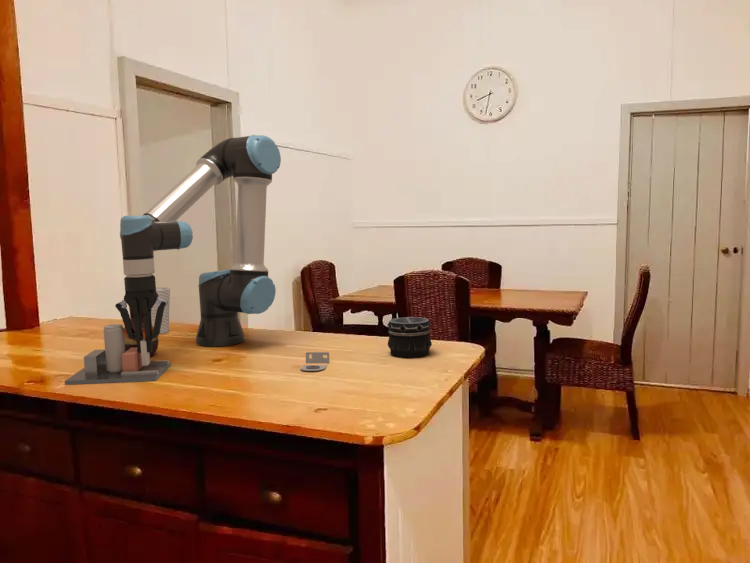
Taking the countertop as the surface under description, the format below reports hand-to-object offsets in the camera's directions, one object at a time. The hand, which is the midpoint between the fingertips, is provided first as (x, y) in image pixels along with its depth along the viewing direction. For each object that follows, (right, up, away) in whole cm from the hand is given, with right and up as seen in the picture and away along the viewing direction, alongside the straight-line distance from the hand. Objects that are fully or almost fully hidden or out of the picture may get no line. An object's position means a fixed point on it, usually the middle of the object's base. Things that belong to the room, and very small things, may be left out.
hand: (146, 364), depth 166 cm
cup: (-15, +4, +55) cm, 57 cm away
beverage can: (-8, -2, 0) cm, 8 cm away
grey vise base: (-8, -3, 0) cm, 8 cm away
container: (+70, +1, +17) cm, 72 cm away
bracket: (+44, -2, +4) cm, 44 cm away
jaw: (-3, -1, 0) cm, 4 cm away
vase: (-9, 0, +21) cm, 23 cm away
